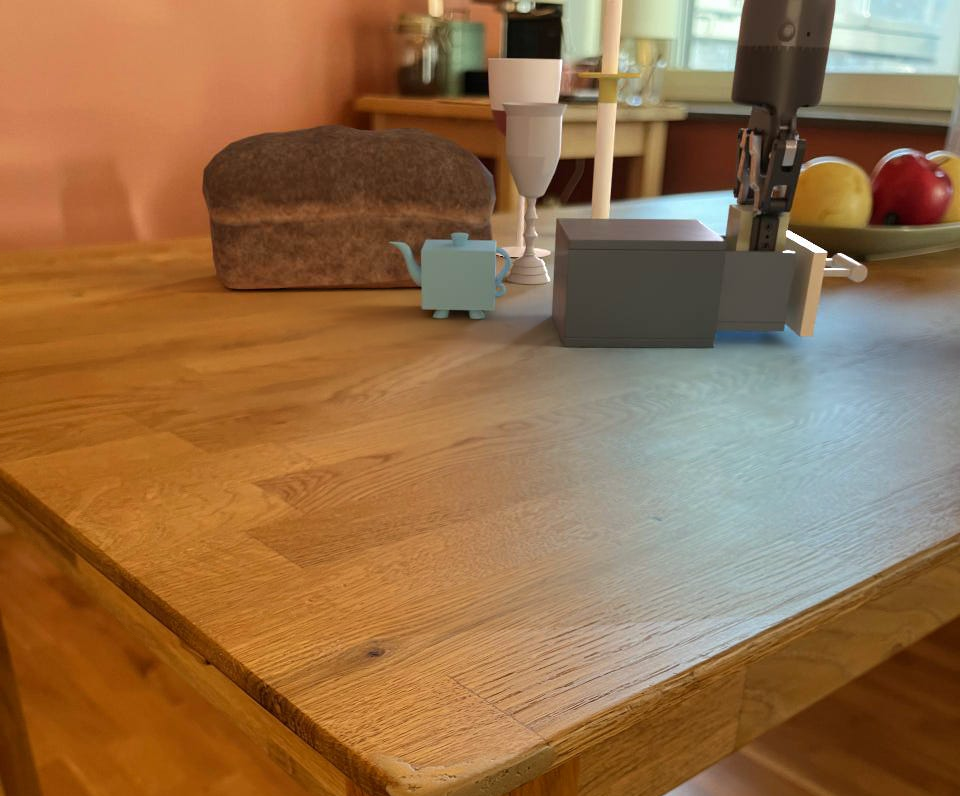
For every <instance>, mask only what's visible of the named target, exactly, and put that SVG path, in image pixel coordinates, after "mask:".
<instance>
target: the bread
mask: <svg viewBox="0 0 960 796" xmlns="http://www.w3.org/2000/svg"><path fill="white" fill-rule="evenodd" d="M202 171H203V172H202V173H203V174H202V187H201V192H202V195H203V198H204V200H205V205H206V208H207V212H208V216H209V217H208V218H209V228H210V240H211V246H212V261H213V266H214V268H215V274H216V275H217V277H218V278H219V279H220V281H221V282H222V284H223V285H224V287H225V288H227V289H235V290H236V289H237V290H254V289H280V288H286V289H389V288H421V287H420V286H418V285H417V284H416V283H415V282H414V281H413V280H412V278H411V277H410V275H409V272H408V269H407V266H406V262H405V259H404V256H403V254H402V253H401V251H400V250H399V249H398V248H397V247H396V246H394V245H392V244H390V243H389V242H403V243H405V244H407V245H408V246H409V248H410V249H411V251H412V254H413V257H414V259H415V261H416V263H417V264H418V265H419V266H420V267H421V250H422V248H423V245H424V243H425V241H426V240H452V238H451V234H452V233H467V234H468V239H467V240H486V241H494V240H493V227H492V216H493V212H494V208H495V205H496V201H497V196H496V189H495V182H494V175H493V174H492V173H491V172H490V171H489V170H488V168H487V167H486V166H485V165H484V164H483V162H482V161H481V160H480V159H479V158H478V156H477V155H476V154H474V153H472V152H470V151H469V150H468V149H466V148H465V147H463V146H462V145H461V144H459V143H457V142H455V141H453V140H450V139H448V138H445V137H443V136H440V135H438V134H435V133H433V132H430V131H428V130H425V129H422V128H420V127H397V128H390V129H383V130H367V129H357V128H353V127H350V126H345V125H342V124H339V123H338V124H328V125H327V124H326V125H325V124H324V125H318V126H314V127H310V128H301V129H295V130H289V131H288V130H287V131H283V132H282V131H275V132H262V133H259V134H255V135H250V136H246V137H244V138H241V139H238V140H235V141H232V142H230V143H228V145H226V146H224V148H222V149H221V150H220V151H218V152H217V153H216V154H215V155H214V156H213V157H212V158H211V159H210V161H209V162H208V164H207V165H206V166H205V167H204V169H203V170H202Z"/></svg>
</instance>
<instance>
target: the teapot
mask: <svg viewBox="0 0 960 796" xmlns="http://www.w3.org/2000/svg"><path fill="white" fill-rule="evenodd" d="M451 238H452V240H426V241H425V243H424V245H423V248H422V250H421V267H420V266H419V265H418V264H417V263H416V261H415V259H414V257H413V254H412V251H411V249H410V248H409V246H408V245H407V244H405V243H403V242H389V243H390V244H392V245H394V246H396V247H397V248H398V249H399V250H400V251H401V253H402V254H403V256H404V259H405V262H406V266H407V269H408V272H409V275H410V277H411V278H412V280H413V281H414V282H415V283H416V284H417V285H418V286H420V287H419V288H421V310H435V311H434V313H433V315H432V318H434V319H447V318H448V317H449V314H450V311H454V310H455V311H468V316H469V319H472V320H483V319H485V317H486V316H485V314H484V311H496V309H495V308H496V298H501V297H503V296H504V295H505V293H506V286H505V284H504V283H501V282H502V281H503V279H504V278H505V276H506V275H507V273H509V271H510V268H511V266H512V258H510V255H509V254H508V253H507V251H506V250H504V249H502V248H503V247H499V246H497V240H493V241H486V240H467V239H468V234H467V233H452V234H451ZM496 253H500V254H502V255H503V256H504V257H503V258H505V262H504V263H505V264H504V266H503V268H502V270H501V271H500V273H499V274H498V275H497V256H496ZM498 287H499V288H500V290H499V291H497V288H498Z"/></svg>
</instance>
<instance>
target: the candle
mask: <svg viewBox="0 0 960 796" xmlns="http://www.w3.org/2000/svg"><path fill="white" fill-rule="evenodd" d="M604 8H605V9H604V10H605V11H604V22H603V23H604V25H603V39H602V40H603V41H602V56H601V71H600V72H577V73H576V74H577V77H578V78H585V79H586V78H587V79H588V78H589V79H590V78H591V79H598V82H599V83H598V99H597V114H596V115H597V116H596V130H595V148H594V160H593V161H594V162H593V163H594V164H593V179H592V180H593V181H592V195H591V196H592V198H591V211H590V212H591V213H590V219H610V207H611V206H610V204H611V189H612V179H613V178H612V177H613V163H614V150H615V149H614V148H615V135H616V119H617V106H618V105H617V104H618V91H619V81H620V80H621V79H640V78H642V75H643V74H642V73H636V72H619V71H618V70H619V69H618V68H619V59H620V58H619V56H620V55H619V54H620V42H621V41H620V40H621V28H622V15H623V14H622V13H623V12H622V11H623V0H605V7H604Z"/></svg>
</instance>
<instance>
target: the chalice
mask: <svg viewBox="0 0 960 796" xmlns="http://www.w3.org/2000/svg"><path fill="white" fill-rule="evenodd" d="M502 105H503V107H504V110H505V112H506V115H507V118H506V137H505V156H506V160H507V164H508V168H509V172H510V174H511V178H512V180H513V182H514V185H515V188H516V190H517V194H518V193H519V194H520V195H521V196H523V197H524V199H526V206H527V207H526V209H525V213H524V222H525V225H526V226H525V231H523V239H524V243H525V247H526V248H525V252H524V253H523V256H522V257H520V258H515V260H514V261H513V262H512V267H510V268H511V269H509V271H510V272H509V275H508V276H507V277H506V281H507V282H509V283H513V284H520V285H540V284H541V285H542V284H547V283H549V282H551V278H550V276H549V275H548V269H547V267H546V266H545V265H546V263H545V262H544V260H543V259H542V257H536V256H535V255H536V254H535V253H534V248H535V246H534V245H535V241H536V239H537V237H538V236H539V235H538V234H537V232H536V229H535V225H536V221H537V220H538V215H537V212H536V204H537V203H536V202H537V199H539V198H540V197H543V196H544V195H545V193H546V191H547V189H548V187H549V185H550V183H551V181H552V179H553V176H554V175H555V173H556V170H557V167H558V163H559V160H560V159H561V149H562V148H561V147H562V131H563V115H564V113H565V112H566V110H567V107H568V104H567V103H559V102H558V103H531V102H515V103H502Z"/></svg>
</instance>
